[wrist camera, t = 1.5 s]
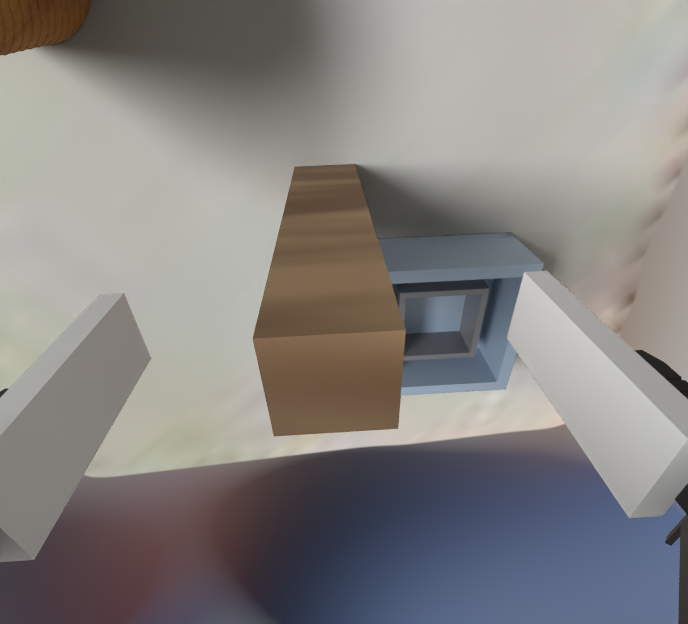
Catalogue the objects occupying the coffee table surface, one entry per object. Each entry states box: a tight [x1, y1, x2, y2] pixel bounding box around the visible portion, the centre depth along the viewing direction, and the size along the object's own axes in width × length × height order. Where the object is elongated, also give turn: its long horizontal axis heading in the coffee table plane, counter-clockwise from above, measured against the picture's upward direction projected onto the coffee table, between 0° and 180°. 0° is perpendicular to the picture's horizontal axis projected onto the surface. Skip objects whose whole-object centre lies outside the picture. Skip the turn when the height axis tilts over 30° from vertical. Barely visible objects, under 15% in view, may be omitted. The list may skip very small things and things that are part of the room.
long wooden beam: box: [253, 164, 406, 436], centre depth 16 cm, size 4×4×16 cm
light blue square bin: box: [378, 233, 544, 395], centre depth 25 cm, size 10×10×4 cm
